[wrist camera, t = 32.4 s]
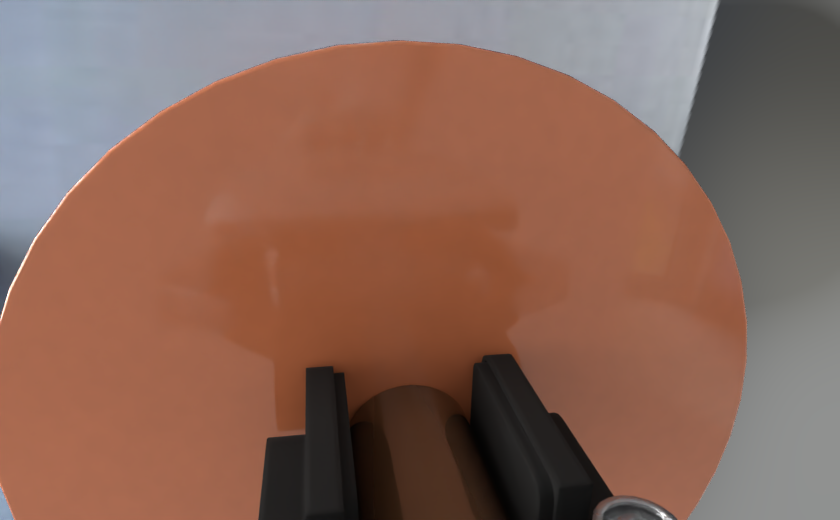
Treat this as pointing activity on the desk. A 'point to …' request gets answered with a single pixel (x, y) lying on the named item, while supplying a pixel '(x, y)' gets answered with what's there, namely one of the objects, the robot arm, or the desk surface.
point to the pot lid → (368, 292)
